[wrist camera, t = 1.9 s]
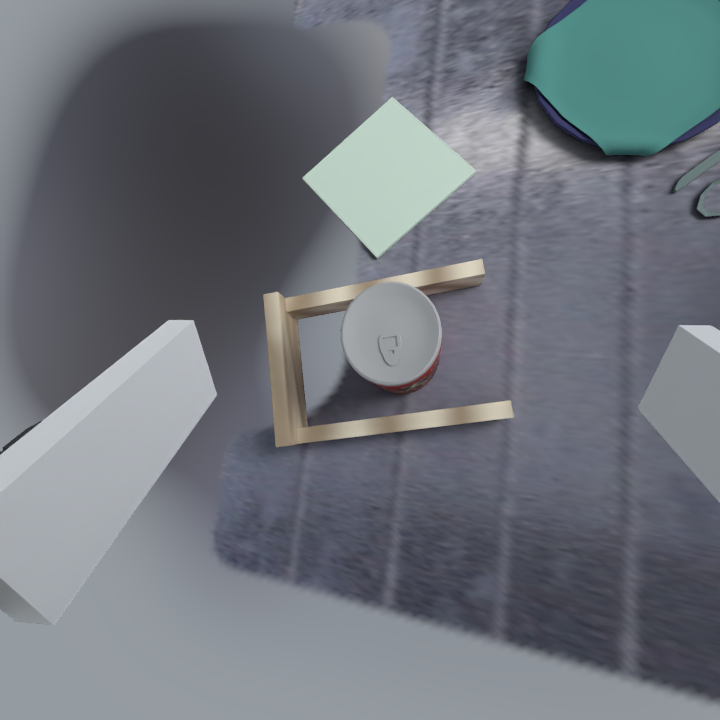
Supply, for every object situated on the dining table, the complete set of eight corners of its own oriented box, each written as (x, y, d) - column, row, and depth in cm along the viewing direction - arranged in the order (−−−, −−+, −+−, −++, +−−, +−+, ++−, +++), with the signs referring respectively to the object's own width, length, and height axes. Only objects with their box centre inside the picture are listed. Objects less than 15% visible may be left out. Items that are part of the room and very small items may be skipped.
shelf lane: (478, 271, 37) (485, 249, 32) (506, 417, 34) (519, 417, 29) (283, 309, 40) (263, 294, 35) (295, 443, 38) (275, 447, 33)
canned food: (383, 406, 36) (362, 402, 26) (354, 337, 38) (324, 307, 27) (452, 376, 35) (461, 359, 25) (420, 307, 37) (415, 263, 27)
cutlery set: (641, -42, 38) (654, -70, 36) (889, 138, 32) (924, 118, 29) (489, 79, 40) (492, 59, 38) (694, 275, 33) (713, 265, 31)
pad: (475, 173, 38) (476, 170, 38) (377, 259, 39) (376, 257, 39) (392, 99, 42) (392, 96, 41) (303, 180, 42) (302, 178, 42)
